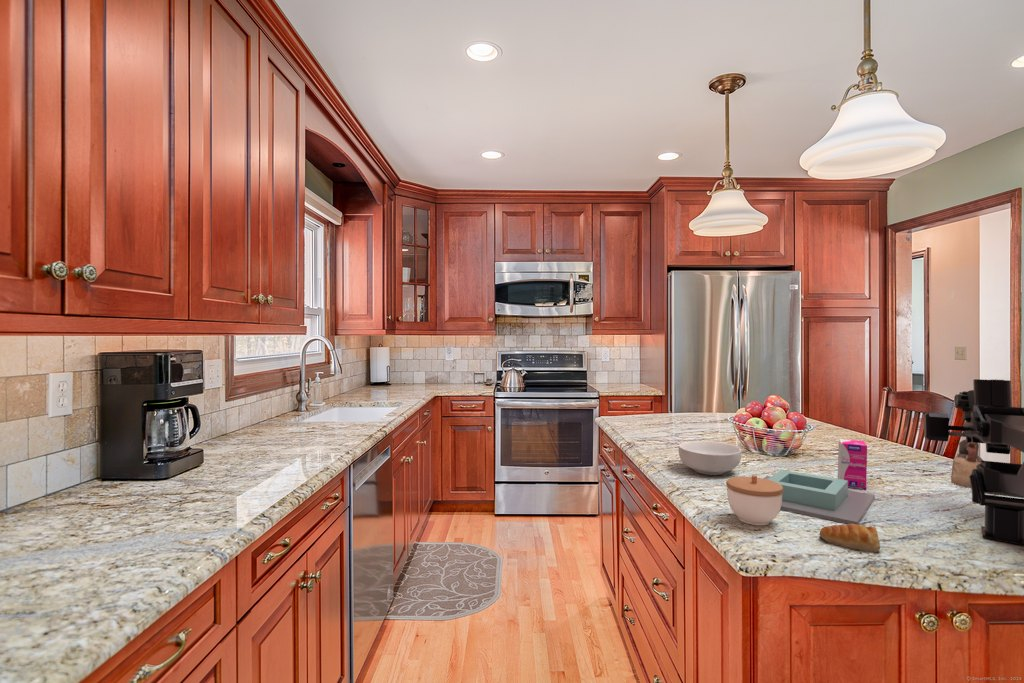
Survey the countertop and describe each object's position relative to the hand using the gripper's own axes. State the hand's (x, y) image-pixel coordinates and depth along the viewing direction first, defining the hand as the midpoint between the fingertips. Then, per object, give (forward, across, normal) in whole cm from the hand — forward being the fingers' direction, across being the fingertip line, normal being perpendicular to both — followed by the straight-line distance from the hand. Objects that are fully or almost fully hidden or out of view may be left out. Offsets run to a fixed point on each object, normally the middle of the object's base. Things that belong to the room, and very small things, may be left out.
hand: (967, 429), depth 121 cm
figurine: (+19, -4, +14) cm, 24 cm away
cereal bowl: (0, +57, +17) cm, 59 cm away
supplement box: (+3, +22, +16) cm, 28 cm away
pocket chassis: (-15, +33, +19) cm, 41 cm away
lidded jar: (-35, +43, +23) cm, 60 cm away
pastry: (-40, +26, +24) cm, 53 cm away
